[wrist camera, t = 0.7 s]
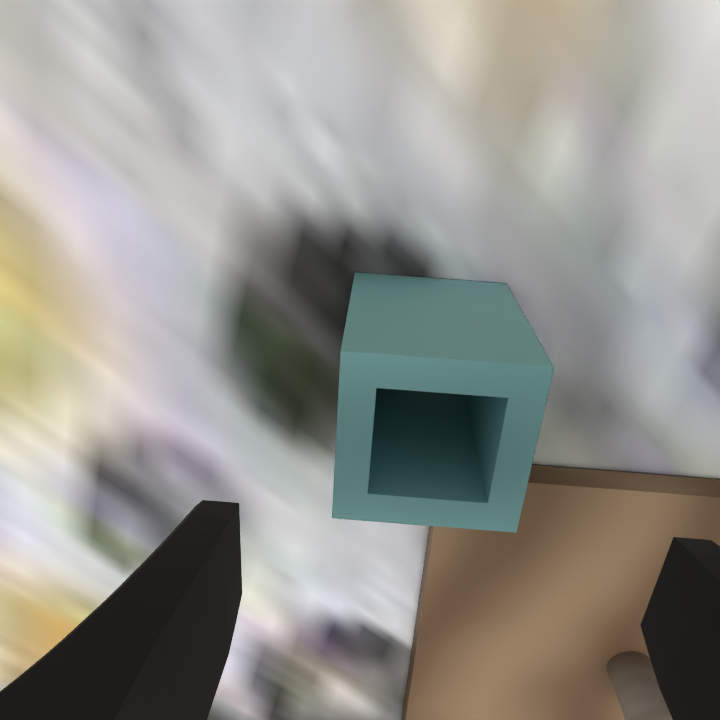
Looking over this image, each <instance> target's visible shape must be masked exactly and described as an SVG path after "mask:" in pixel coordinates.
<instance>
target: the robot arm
mask: <svg viewBox="0 0 720 720" xmlns="http://www.w3.org/2000/svg"><path fill="white" fill-rule="evenodd" d="M241 596H242V577H241V548H240V519H239V503H231V502H219V501H206V500H203V501H201V502H200V503H199V504H197V505H196V506H195V507H194V508H193V510H192V511H191V512H190V513H189V514H188V515H187V516H186V517H185V518H184V520H183V521H182V522H181V523H180V524H179V525H178V526H177V527H176V528H175V530H174V531H173V532H172V533H171V534H170V535H169V536H168V537H167V538H166V539H165V540H164V541H163V542H162V544H161V545H160V546H159V547H158V548H157V549H156V550H155V551H154V552H153V553H152V554H151V555H150V556H149V557H148V558H147V559H146V560H145V561H144V562H143V563H142V564H141V565H140V566H139V567H138V568H137V569H136V570H135V571H134V572H133V573H132V574H131V575H130V576H129V577H128V578H127V579H126V581H125V582H124V583H123V584H122V585H121V586H120V587H119V588H118V589H117V590H116V591H115V592H114V593H113V594H111V595H110V596H109V597H108V598H107V599H106V600H105V601H104V602H103V603H102V604H101V605H100V606H99V607H98V608H97V609H96V610H94V611H93V612H92V613H91V614H90V615H89V616H88V617H87V618H86V619H85V620H84V621H82V622H81V623H80V624H79V625H78V626H77V627H76V628H75V629H74V630H73V631H72V632H70V633H69V634H68V635H67V636H66V637H65V638H64V639H63V640H62V641H61V642H59V643H58V644H57V645H56V646H55V647H54V648H53V649H51V650H50V651H49V652H48V653H47V654H46V655H44V656H43V657H42V658H41V659H40V660H38V661H37V662H36V663H35V664H34V665H33V666H31V667H30V668H29V669H28V670H27V671H25V672H24V673H23V674H22V675H20V676H19V677H18V678H17V679H15V680H14V681H13V682H12V683H10V684H9V685H8V686H7V687H5V688H4V689H3V690H2V691H0V720H207V717H208V714H209V711H210V708H211V705H212V703H213V700H214V697H215V694H216V691H217V688H218V685H219V682H220V679H221V676H222V673H223V670H224V666H225V663H226V660H227V657H228V654H229V650H230V646H231V641H232V637H233V633H234V628H235V624H236V619H237V614H238V610H239V605H240V600H241ZM640 626H641V629H642V633H643V636H644V640H645V643H646V647H647V650H648V654H649V657H650V661H651V664H652V667H653V670H654V673H655V676H656V679H657V682H658V685H659V688H660V691H661V693H662V696H663V698H664V700H665V703H666V705H667V707H668V710H669V712H670V714H671V716H672V719H673V720H720V546H719V545H717V544H716V543H714V542H713V541H712V540H706V539H693V538H680V537H673V540H672V542H671V545H670V548H669V550H668V553H667V555H666V558H665V561H664V563H663V566H662V569H661V571H660V574H659V577H658V579H657V582H656V585H655V587H654V590H653V593H652V595H651V598H650V601H649V603H648V606H647V609H646V611H645V614H644V617H643V619H642V622H641V625H640Z"/></svg>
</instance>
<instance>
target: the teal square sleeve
mask: <svg viewBox="0 0 720 720" xmlns="http://www.w3.org/2000/svg"><path fill="white" fill-rule="evenodd" d="M553 369H554V366H553V364H552V362H551V361H550V359H549V357H548V355H547V354H546V352H545V350H544V348H543V347H542V345H541V343H540V341H539V340H538V338H537V336H536V334H535V333H534V331H533V329H532V327H531V326H530V324H529V322H528V320H527V319H526V317H525V315H524V313H523V312H522V310H521V308H520V306H519V305H518V303H517V301H516V299H515V298H514V296H513V294H512V292H511V290H510V289H509V287H508V285H507V283H495V282H481V281H467V280H453V279H440V278H426V277H412V276H399V275H385V274H371V273H357V272H355V275H354V280H353V286H352V291H351V297H350V302H349V308H348V313H347V319H346V324H345V330H344V335H343V341H342V346H341V353H340V373H339V392H338V411H337V431H336V450H335V469H334V489H333V508H332V518H338V519H350V520H363V521H375V522H388V523H401V524H413V525H426V526H439V527H451V528H464V529H476V530H489V531H502V532H514V533H517V528H518V524H519V519H520V515H521V511H522V506H523V502H524V497H525V493H526V488H527V484H528V480H529V475H530V471H531V466H532V462H533V458H534V453H535V449H536V444H537V440H538V436H539V431H540V427H541V422H542V418H543V414H544V409H545V405H546V400H547V396H548V391H549V387H550V383H551V378H552V374H553Z"/></svg>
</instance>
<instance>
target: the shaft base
mask: <svg viewBox="0 0 720 720" xmlns="http://www.w3.org/2000/svg"><path fill="white" fill-rule="evenodd" d="M673 537H680V538H693V539H706V540H712V541H713V542H714V543H716V544H717V545H719V546H720V479H707V478H694V477H681V476H669V475H656V474H643V473H630V472H617V471H604V470H591V469H578V468H565V467H552V466H539V465H532V466H531V471H530V475H529V480H528V484H527V488H526V493H525V497H524V502H523V506H522V511H521V515H520V519H519V524H518V528H517V533H514V532H502V531H489V530H476V529H464V528H451V527H439V526H430V527H429V534H428V541H427V548H426V555H425V562H424V569H423V576H422V583H421V590H420V597H419V604H418V611H417V618H416V625H415V632H414V638H413V645H412V652H411V659H410V666H409V673H408V680H407V687H406V694H405V701H404V708H403V715H402V720H673V719H672V716H671V714H670V712H669V710H668V707H667V705H666V703H665V700H664V698H663V696H662V693H661V691H660V688H659V685H658V682H657V679H656V676H655V673H654V670H653V667H652V664H651V661H650V657H649V654H648V650H647V647H646V643H645V640H644V636H643V633H642V629H641V626H640V625H641V622H642V619H643V617H644V614H645V611H646V609H647V606H648V603H649V601H650V598H651V595H652V593H653V590H654V587H655V585H656V582H657V579H658V577H659V574H660V571H661V569H662V566H663V563H664V561H665V558H666V555H667V553H668V550H669V548H670V545H671V542H672V540H673Z"/></svg>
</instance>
